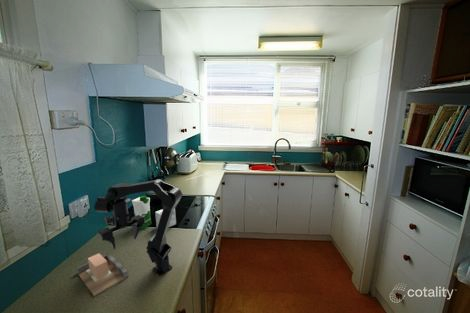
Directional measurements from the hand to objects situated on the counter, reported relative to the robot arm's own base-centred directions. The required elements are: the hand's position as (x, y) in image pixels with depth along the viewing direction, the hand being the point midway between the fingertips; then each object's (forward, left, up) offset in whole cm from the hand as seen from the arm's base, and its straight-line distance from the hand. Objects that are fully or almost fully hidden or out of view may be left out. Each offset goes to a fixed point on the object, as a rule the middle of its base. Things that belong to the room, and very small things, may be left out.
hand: (125, 243), depth 96 cm
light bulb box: (+18, -33, -12) cm, 39 cm away
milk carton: (+30, -24, -11) cm, 40 cm away
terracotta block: (+5, +10, -11) cm, 15 cm away
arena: (+3, +10, -11) cm, 15 cm away
